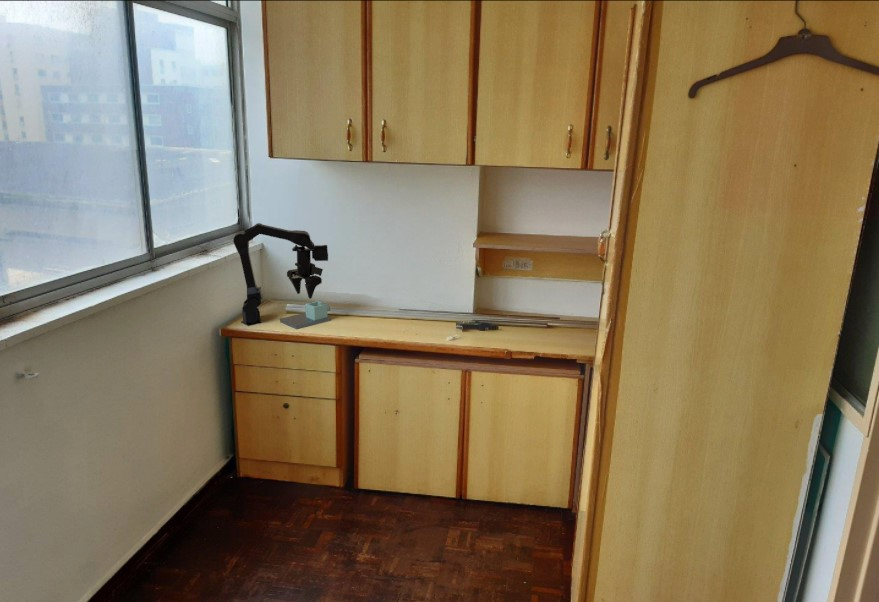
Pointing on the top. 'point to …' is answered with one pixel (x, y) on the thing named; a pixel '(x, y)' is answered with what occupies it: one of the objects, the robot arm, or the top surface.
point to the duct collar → (317, 310)
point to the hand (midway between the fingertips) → (304, 296)
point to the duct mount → (301, 320)
